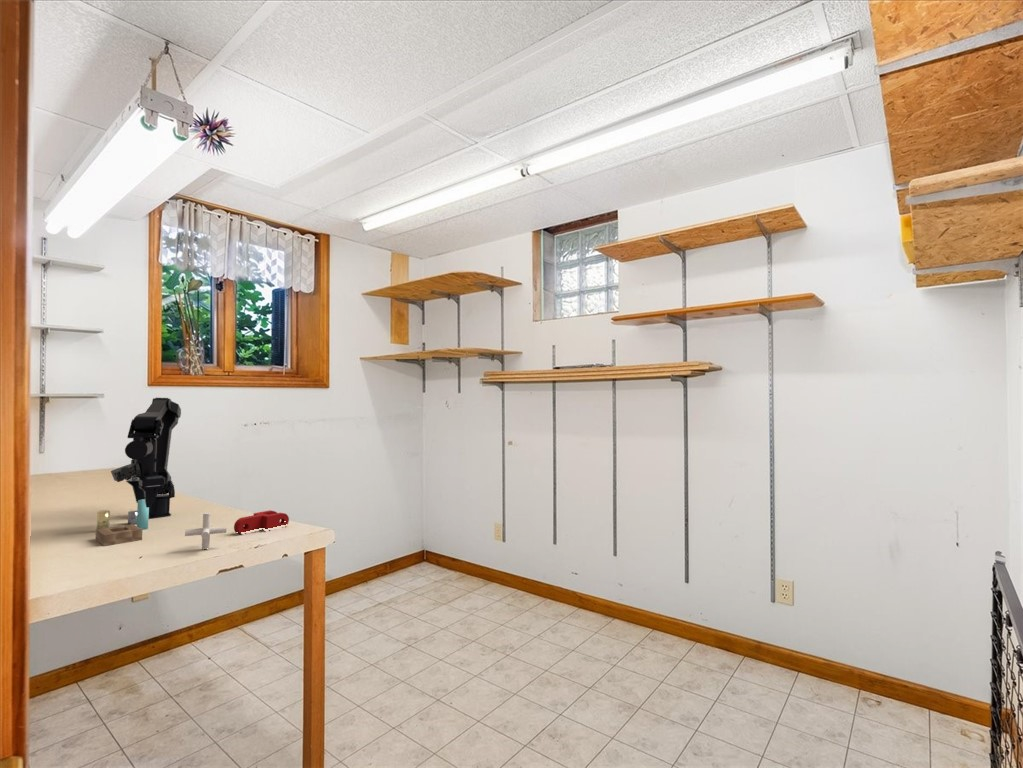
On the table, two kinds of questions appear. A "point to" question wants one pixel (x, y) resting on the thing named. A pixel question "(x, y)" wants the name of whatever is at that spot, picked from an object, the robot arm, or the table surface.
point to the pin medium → (103, 519)
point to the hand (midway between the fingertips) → (143, 505)
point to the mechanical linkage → (261, 521)
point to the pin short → (132, 517)
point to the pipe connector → (205, 530)
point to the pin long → (142, 515)
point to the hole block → (118, 534)
